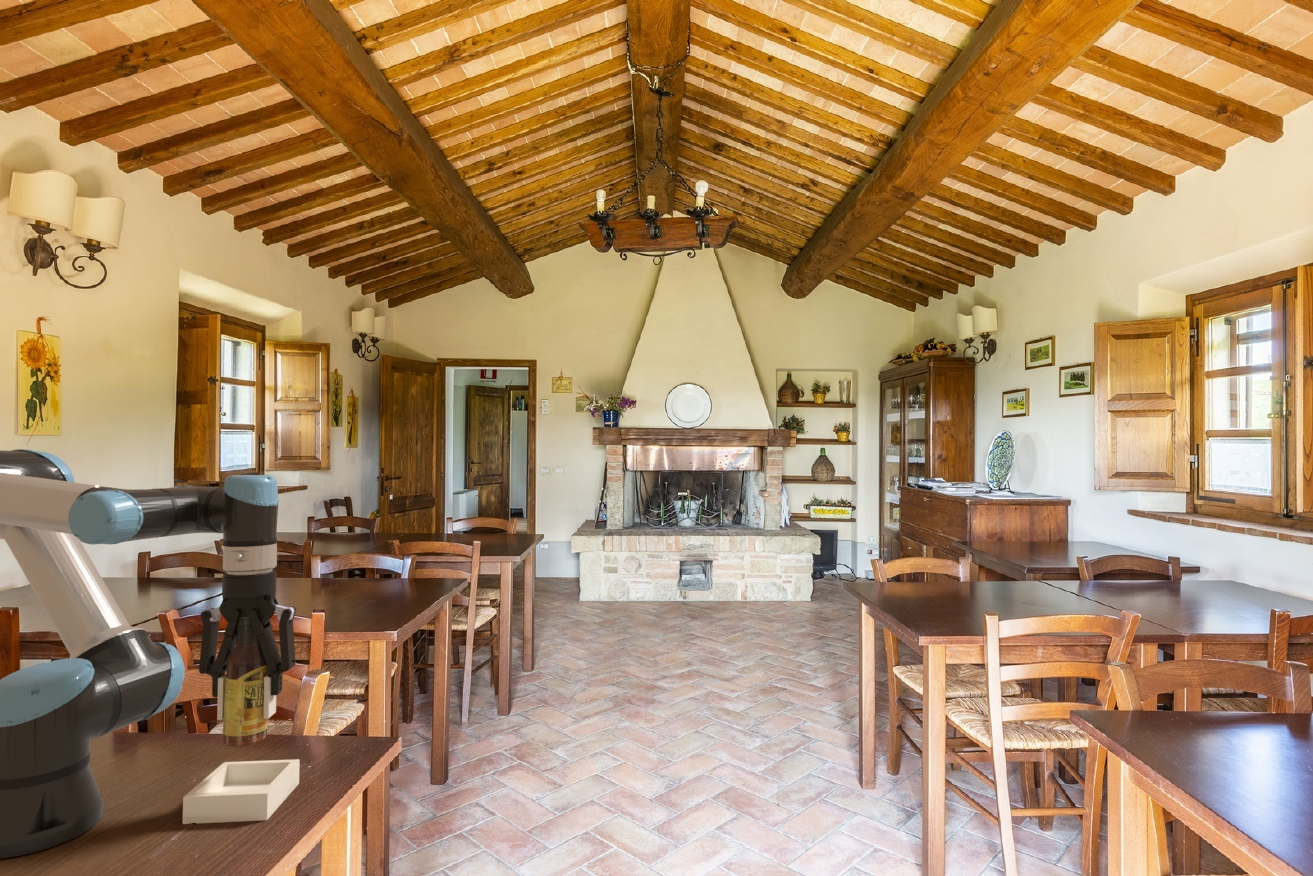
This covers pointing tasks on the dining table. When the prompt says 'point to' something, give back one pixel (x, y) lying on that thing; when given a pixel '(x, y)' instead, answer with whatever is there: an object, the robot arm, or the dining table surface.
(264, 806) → the square white tray
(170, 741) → the dining table surface
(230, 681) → the sauce bottle
